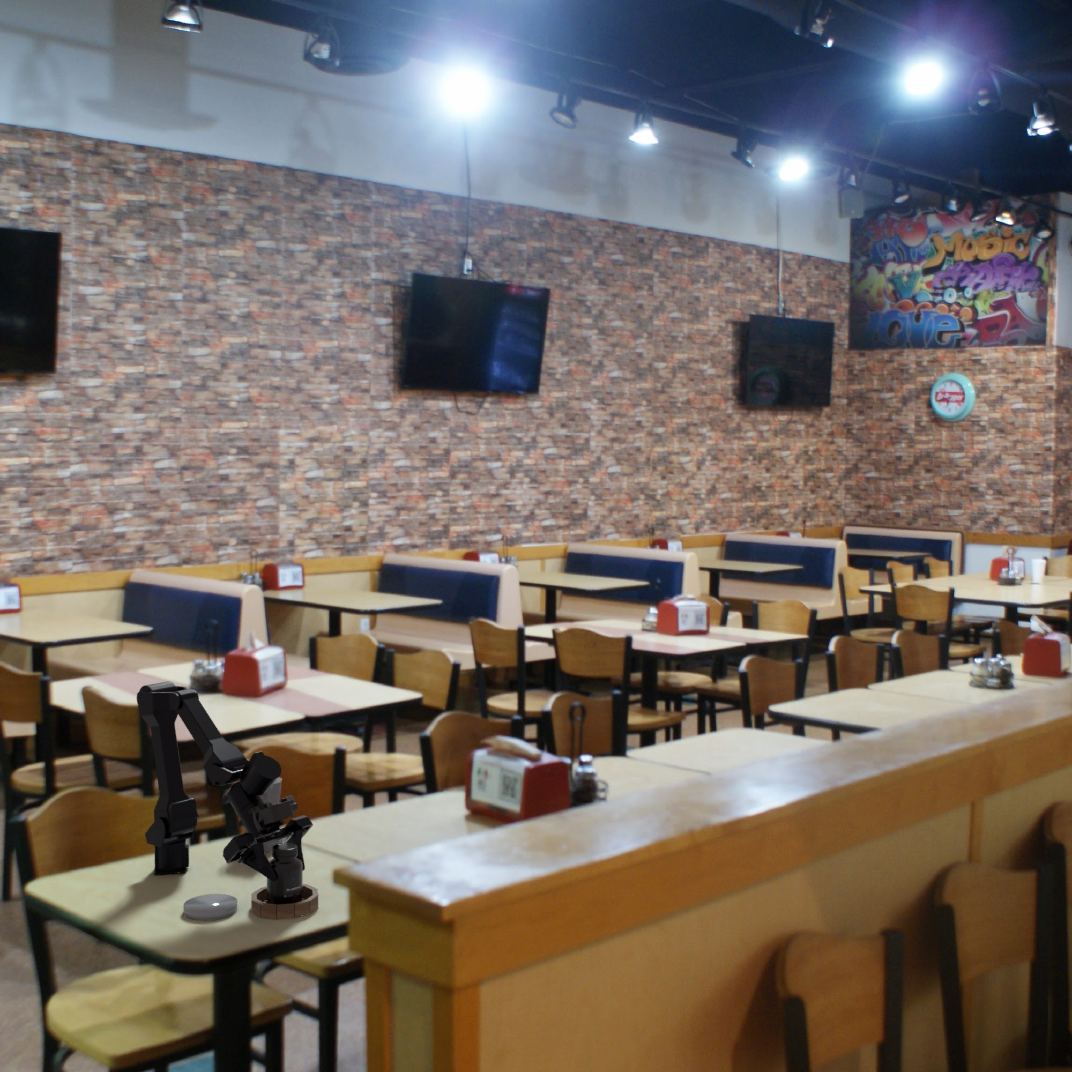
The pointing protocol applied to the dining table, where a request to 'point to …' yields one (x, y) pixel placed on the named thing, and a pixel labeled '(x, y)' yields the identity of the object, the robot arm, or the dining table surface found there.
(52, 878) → the dining table surface
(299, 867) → the supplement bottle
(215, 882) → the dining table surface
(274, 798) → the coffeepot
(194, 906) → the coaster
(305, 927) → the dining table surface
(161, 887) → the dining table surface
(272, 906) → the ring holder
